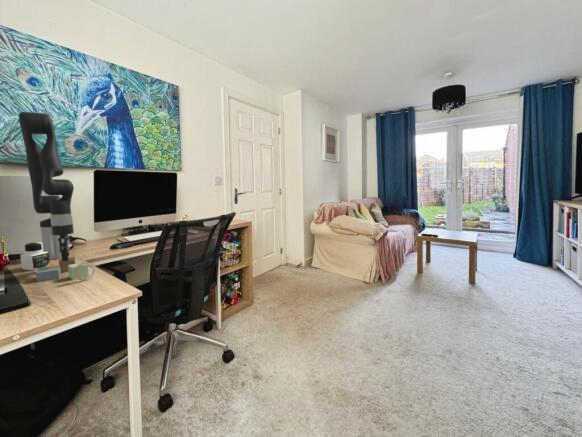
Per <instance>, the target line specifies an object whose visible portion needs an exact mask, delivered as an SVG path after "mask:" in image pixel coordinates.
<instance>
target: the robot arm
mask: <svg viewBox="0 0 582 437" xmlns="http://www.w3.org/2000/svg"><path fill="white" fill-rule="evenodd" d="M18 122H19V127H20V130H21V135H22V138H23V143H24V147H25V149H24V150H25V153H26V154H25V155H26V162H27V163H26V164H27V169H28V173H29V178H30V182H31V183H30V184H31V189H32V190H31V191H32V202H33V208H34V211H35V213H36V214H41V215H42V214H44V215H45V214H50V217H49V218H47V219H46V218H45V219H44V220H41V221H39V228H40V235H41V243H42V245H43V251H42V252H48V253H49V261H51V260H59V259H60V258H62V261H68V257H70V243H71V242H70V241H71V240H70V237H69V235H72V234H74V233H75V231H74V223H73V217H72V216H73V215H72V210H71V202H72V196H73V193H74V184H73V183H72V181H71V180H69V179H63V178H62V179H59V178H57V179H54V178H56V177H60V176H62V175H63V174H64V168H63V166H62V165H63V164H62V162H61V159H60V155H59V151H58V150H59V149H58V142H57V137H56V132H55V126H54V122H53V120H52V117H51V116H50V114H47V113H43V112H42V113H41V112H27V111H21V112H19V113H18ZM33 135H46V141H45V144H44V145H43V147H41V146H39V144H38V143H37V142H36V141H35V139H34V138H33ZM42 193H44V194H46V195H42ZM60 196H61V197H60Z"/></svg>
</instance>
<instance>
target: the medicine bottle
mask: <svg viewBox="0 0 582 437" xmlns="http://www.w3.org/2000/svg"><path fill="white" fill-rule="evenodd" d="M24 252H25V253H22V254H20V263H21V269H22V270H24V271H25V270H26V271H38V269H39V268H47V267H51V266H50V265H51V262H50V260H49V253H48V252H43V245H42V242H39V241H38V242H28V243H26V244H25V245H24Z"/></svg>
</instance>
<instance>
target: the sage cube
mask: <svg viewBox="0 0 582 437" xmlns="http://www.w3.org/2000/svg"><path fill="white" fill-rule="evenodd" d="M81 262H82V263H83V262H84V261H81ZM81 262H77V263H75V264H71V265H68V272H67V273H68V277H69V278H70V280H72V281H76V280H78V279H77V278H76V277H75V275H74V270H75V268H76V266H77V265H78V264H80V263H81ZM76 274H77V277H79V278H81V279H84V278H88V277H90V275H89V266H87V265H85V266H83V267H81V268H80V269H79V270H78V271H77V273H76Z"/></svg>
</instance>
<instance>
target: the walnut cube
mask: <svg viewBox="0 0 582 437" xmlns="http://www.w3.org/2000/svg"><path fill="white" fill-rule="evenodd" d="M71 264H76V257H75V256H68V261H62V258H59V259H58V266H60V270H61V274H64V273H69V272H68V265H71Z"/></svg>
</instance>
